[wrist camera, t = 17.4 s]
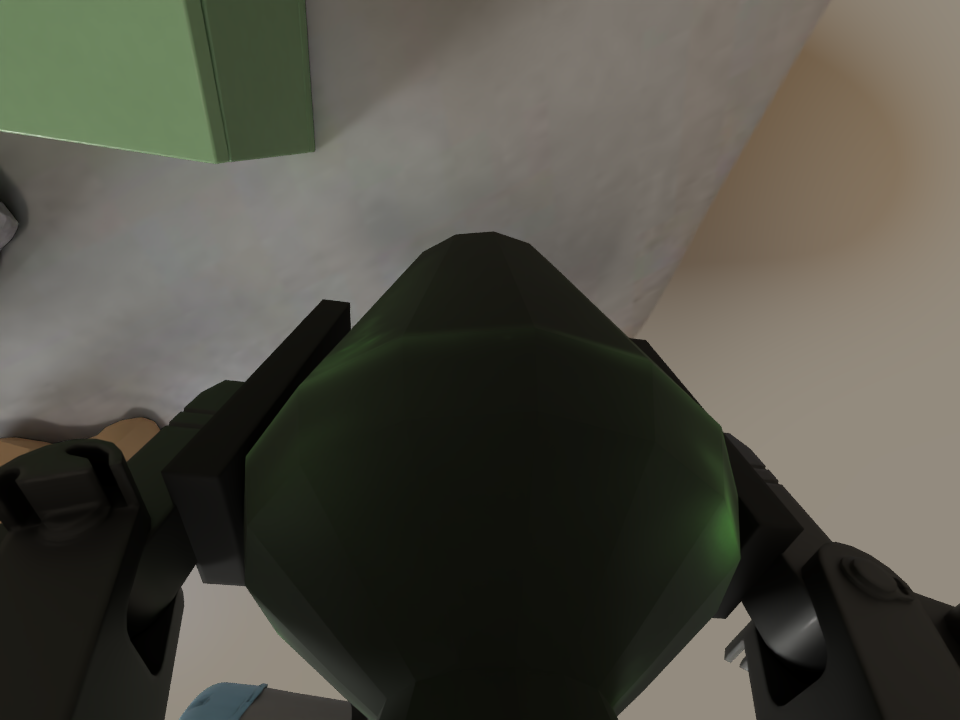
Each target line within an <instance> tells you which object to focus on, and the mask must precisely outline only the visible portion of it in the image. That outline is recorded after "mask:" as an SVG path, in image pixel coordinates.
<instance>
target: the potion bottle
mask: <svg viewBox="0 0 960 720" xmlns="http://www.w3.org/2000/svg"><path fill="white" fill-rule="evenodd" d="M740 559H741V555H740V532H739V508H738V494H737V490H736V486H735V481H734V477H733V473H732V469H731V465H730V461H729V456H728V452H727V448H726V444H725V440H724V436H723V431H722V427H721V426H720V425H719V424H718V423H717V422H716V421H715V420H714V419H713V418H712V417H711V416H710V415H709V414H708V413H707V412H706V411H705V410H704V409H703V408H702V407H700V406H699V405H698V404H697V403H696V402H695V401H694V400H693V399H692V398H691V397H690V396H689V395H688V394H687V393H686V392H685V391H684V390H683V389H682V388H681V387H680V386H679V385H677V384H676V383H675V382H674V381H673V380H672V379H671V378H670V377H669V376H668V375H667V374H666V373H665V372H664V371H663V370H662V369H661V368H660V367H659V366H658V365H657V364H656V363H655V362H653V361H652V360H651V359H650V358H649V357H648V356H647V355H646V354H645V353H644V352H643V351H642V350H641V349H640V348H639V347H638V346H637V345H636V344H635V343H634V342H633V341H632V340H630V339H629V338H628V337H627V336H626V335H625V334H624V333H623V332H622V331H621V330H620V329H619V328H618V327H617V326H616V325H615V324H614V323H613V322H612V321H611V320H610V319H609V318H607V317H606V316H605V315H604V314H603V313H602V312H601V311H600V310H599V309H598V308H597V307H596V306H595V305H594V304H593V303H592V302H591V301H590V300H589V299H588V298H587V297H586V296H585V295H583V294H582V293H581V292H580V291H579V290H578V289H577V288H576V287H575V286H574V285H573V284H572V283H571V282H570V281H569V280H568V279H567V278H566V277H565V276H564V275H563V274H562V273H560V272H559V271H558V270H557V269H556V268H555V267H554V266H553V265H552V264H551V263H550V262H549V261H548V260H547V259H546V258H544V257H543V256H542V255H541V254H540V253H539V252H538V251H537V250H536V249H535V248H534V247H533V246H531V245H530V244H529V243H526V242H523V241H520V240H517V239H514V238H511V237H509V236H506V235H503V234H500V233H497V232H482V233H469V234H457V235H454V236H452V237H450V238H448V239H446V240H445V241H443V242H441V243H439V244H437V245H435V246H433V247H431V248H429V249H428V250H426V251H424V252H422V254H421V255H420V256H419V257H418V258H417V259H416V260H415V261H414V262H413V263H412V264H411V265H410V267H409V268H408V269H407V270H406V271H405V272H404V273H403V274H402V275H401V276H400V277H399V278H398V279H397V281H396V282H395V283H394V284H393V285H392V286H391V287H390V288H389V289H388V290H387V291H386V292H385V294H384V295H383V296H382V297H381V298H380V299H379V300H378V301H377V302H376V303H375V304H374V305H373V306H372V308H371V309H370V310H369V311H368V312H367V313H366V314H365V315H364V316H363V317H362V318H361V319H360V321H359V322H358V323H357V324H356V325H355V326H354V327H353V328H352V329H351V330H350V331H349V332H348V333H347V335H346V336H345V337H344V338H343V339H342V340H341V341H340V342H339V343H338V344H337V345H336V346H335V348H334V349H333V350H332V351H331V352H330V353H329V354H328V355H327V356H326V357H325V358H324V359H323V361H322V362H321V363H320V364H319V365H318V366H317V367H316V368H315V369H314V370H313V371H312V372H311V373H310V375H309V376H308V377H307V378H306V379H305V380H304V381H303V382H302V383H301V384H300V385H299V386H298V388H297V389H296V390H295V392H294V393H293V394H292V396H291V397H290V398H289V400H288V401H287V402H286V404H285V405H284V406H283V408H282V409H281V410H280V412H279V413H278V414H277V416H276V417H275V418H274V420H273V421H272V422H271V424H270V425H269V426H268V428H267V429H266V430H265V432H264V433H263V434H262V436H261V437H260V438H259V440H258V441H257V442H256V444H255V445H254V446H253V448H252V449H251V450H250V452H249V453H248V454H247V456H246V462H245V493H244V565H245V586H246V587H247V589H248V590H249V592H250V593H251V595H252V596H253V598H254V599H255V601H256V602H257V603H258V605H259V607H260V608H261V610H262V611H263V613H264V614H265V616H266V617H267V619H268V620H269V622H270V623H271V624H272V626H273V627H274V629H275V630H276V632H277V633H278V635H280V636H281V637H282V638H283V639H284V640H285V641H286V642H287V643H288V644H289V645H290V646H291V647H292V648H293V649H294V650H295V651H296V652H298V654H299V655H300V656H301V657H303V658H304V659H305V660H306V661H307V662H308V663H309V664H310V665H311V666H312V667H313V668H314V669H315V670H316V671H317V672H319V674H320V675H322V676H323V677H324V678H325V679H326V680H327V681H328V682H329V683H330V684H331V685H332V686H333V687H334V688H335V689H336V690H337V691H338V692H339V693H340V694H341V695H343V696H344V697H345V698H346V699H347V700H348V701H349V702H350V703H351V704H352V705H353V706H354V707H356V708H357V709H358V710H359V711H360V712H361V713H363V714H364V715H365V716H366V717H367V718H368V719H369V720H618V718H617V716H618V715H619V714H620V713H621V712H622V711H623V710H624V709H625V708H626V707H627V706H628V705H629V704H630V703H631V702H632V701H633V700H634V699H635V698H636V697H637V696H638V695H640V694H641V692H643V691H644V690H645V689H646V688H647V686H648V685H649V684H650V683H651V682H652V681H653V680H654V679H655V678H656V677H657V676H658V675H659V674H660V673H661V671H662V670H663V669H664V668H665V667H666V666H667V665H668V664H669V663H670V662H671V661H672V660H673V659H674V658H675V657H676V655H677V654H678V653H679V652H680V651H681V650H682V649H683V648H684V647H685V646H686V645H687V644H688V643H689V641H691V639H692V638H693V637H694V636H695V635H696V634H697V633H698V632H699V631H700V630H701V629H702V628H703V627H704V626H705V624H706V623H707V622H708V621H709V620H710V619H711V618H712V617H713V616H714V615H715V614H716V613H717V611H718V609H719V606H720V604H721V602H722V600H723V597H724V595H725V593H726V591H727V588H728V586H729V584H730V582H731V579H732V577H733V575H734V573H735V570H736V568H737V566H738V564H739V561H740Z"/></svg>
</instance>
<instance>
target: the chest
mask: <svg viewBox="0 0 960 720" xmlns="http://www.w3.org/2000/svg"><path fill="white" fill-rule="evenodd" d="M200 3H201V9H202V14H203V19H204V25H205V30H206V36H207V41H208V47H209V52H210V57H211V63H212V68H213V74H214V79H215V84H216V90H217V95H218V101H219V106H220V112H221V117H222V122H223V128H224V133H225V139H226V144H227V149H228V155H229V162H235V161H243V160H251V159H260V158H268V157H276V156H284V155H292V154H301V153H308V152H315V142H314V128H313V113H312V98H311V83H310V69H309V54H308V39H307V24H306V10H305V0H200Z"/></svg>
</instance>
